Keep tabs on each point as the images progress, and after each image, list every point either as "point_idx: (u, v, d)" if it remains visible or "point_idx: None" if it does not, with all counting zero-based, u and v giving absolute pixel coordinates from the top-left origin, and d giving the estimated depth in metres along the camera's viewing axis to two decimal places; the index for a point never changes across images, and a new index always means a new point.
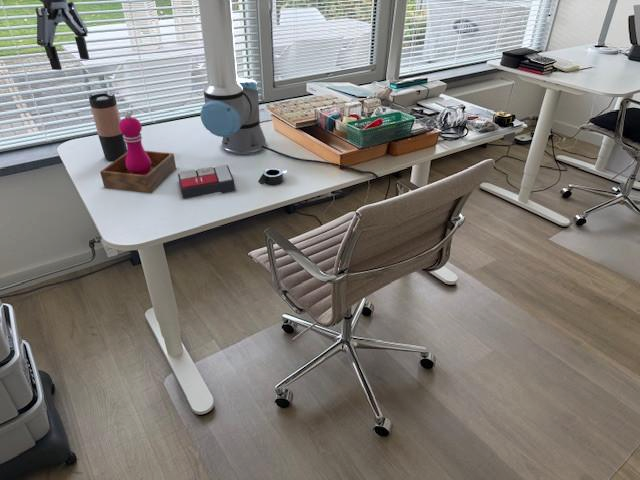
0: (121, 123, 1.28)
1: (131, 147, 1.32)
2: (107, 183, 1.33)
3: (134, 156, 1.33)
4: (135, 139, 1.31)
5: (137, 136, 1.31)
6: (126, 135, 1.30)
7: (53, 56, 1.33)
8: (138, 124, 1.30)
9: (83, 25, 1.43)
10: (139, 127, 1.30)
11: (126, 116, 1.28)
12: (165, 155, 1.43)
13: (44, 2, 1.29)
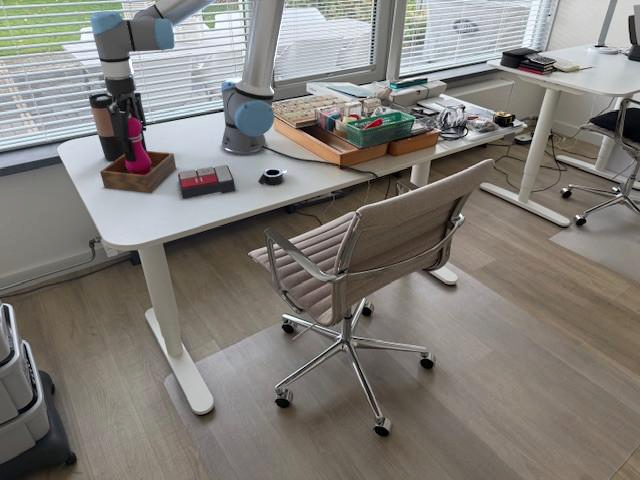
0: None
1: None
2: (107, 183, 1.33)
3: None
4: (135, 139, 1.31)
5: (137, 136, 1.31)
6: None
7: (129, 149, 1.30)
8: (138, 124, 1.30)
9: (143, 117, 1.35)
10: (139, 127, 1.30)
11: None
12: (165, 155, 1.43)
13: (113, 94, 1.22)
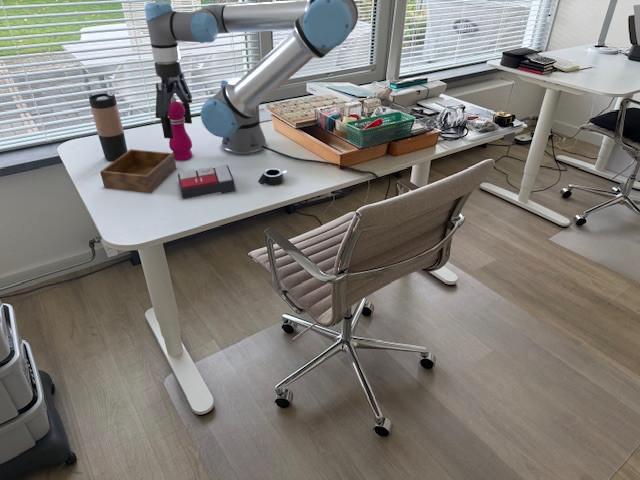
0: None
1: (175, 129, 1.46)
2: (107, 183, 1.33)
3: (178, 137, 1.46)
4: (179, 121, 1.44)
5: (181, 119, 1.44)
6: (171, 117, 1.43)
7: (167, 127, 1.39)
8: (182, 107, 1.43)
9: (189, 92, 1.49)
10: (183, 110, 1.43)
11: (172, 100, 1.42)
12: (165, 155, 1.43)
13: (162, 77, 1.35)
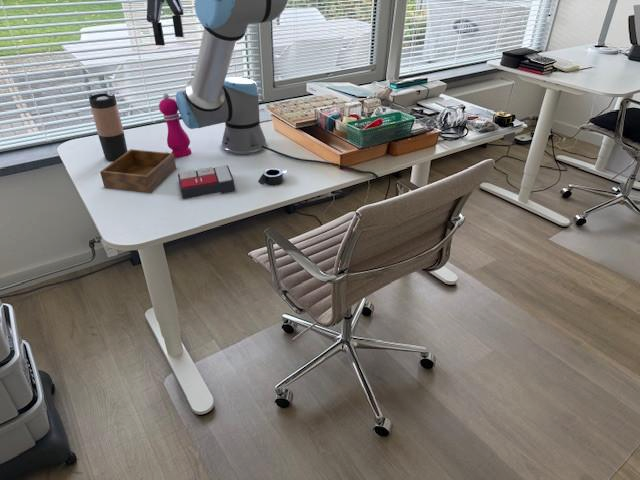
0: (161, 103, 1.44)
1: (171, 125, 1.46)
2: (107, 183, 1.33)
3: (174, 133, 1.47)
4: (174, 116, 1.45)
5: (175, 114, 1.46)
6: (166, 113, 1.45)
7: (159, 32, 1.41)
8: (175, 102, 1.45)
9: (180, 4, 1.51)
10: (176, 105, 1.45)
11: (164, 96, 1.44)
12: (165, 155, 1.43)
13: None
